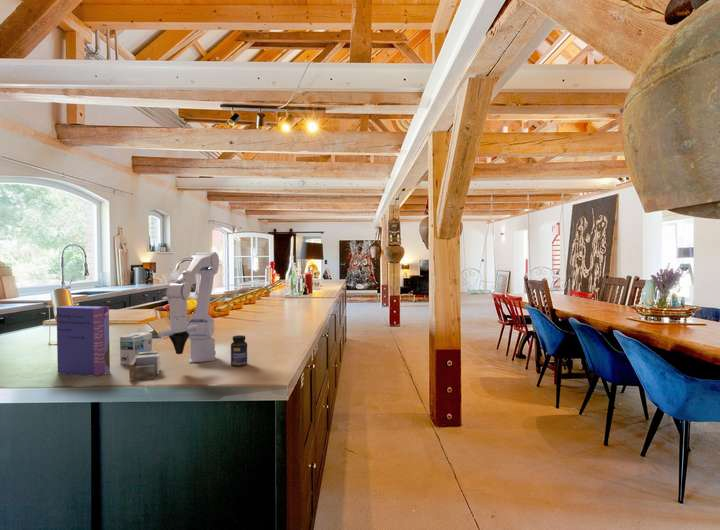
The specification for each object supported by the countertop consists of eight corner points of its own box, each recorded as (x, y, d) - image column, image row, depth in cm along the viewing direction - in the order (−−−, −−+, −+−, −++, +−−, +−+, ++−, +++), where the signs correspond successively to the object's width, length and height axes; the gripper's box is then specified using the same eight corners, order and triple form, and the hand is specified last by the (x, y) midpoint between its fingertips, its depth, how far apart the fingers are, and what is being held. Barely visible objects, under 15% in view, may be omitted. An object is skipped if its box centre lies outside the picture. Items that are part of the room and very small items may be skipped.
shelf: (157, 367, 153) (157, 350, 153) (153, 378, 139) (153, 359, 139) (136, 369, 150) (135, 352, 150) (129, 381, 137) (129, 361, 136)
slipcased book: (159, 371, 148) (159, 353, 148) (158, 374, 144) (158, 356, 144) (137, 373, 145) (137, 355, 145) (136, 376, 142) (135, 358, 142)
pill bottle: (232, 367, 152) (232, 338, 152) (229, 364, 158) (229, 335, 158) (249, 365, 155) (248, 337, 155) (245, 362, 161) (245, 334, 160)
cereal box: (109, 372, 147) (108, 306, 147) (98, 376, 143) (97, 307, 142) (69, 369, 151) (68, 305, 150) (57, 373, 146) (56, 306, 146)
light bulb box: (135, 365, 157) (134, 337, 157) (119, 364, 158) (119, 337, 158) (153, 358, 168) (152, 332, 168) (138, 357, 169) (137, 331, 168)
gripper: (189, 312, 156) (190, 348, 156) (152, 318, 143) (153, 356, 144) (201, 314, 152) (202, 350, 152) (164, 319, 140) (165, 359, 140)
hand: (179, 353), depth 148 cm, fingers closed
